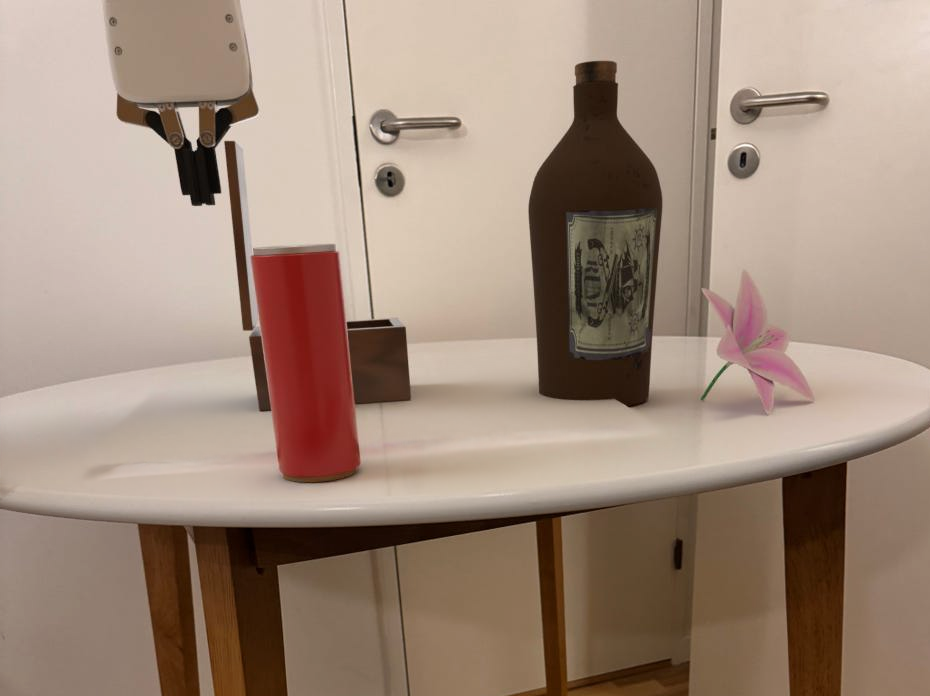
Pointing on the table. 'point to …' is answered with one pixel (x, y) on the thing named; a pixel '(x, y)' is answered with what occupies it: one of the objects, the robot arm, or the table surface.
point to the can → (307, 358)
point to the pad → (320, 477)
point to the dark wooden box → (358, 362)
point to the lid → (241, 233)
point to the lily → (755, 344)
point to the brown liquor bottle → (595, 252)
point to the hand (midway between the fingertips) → (203, 204)
